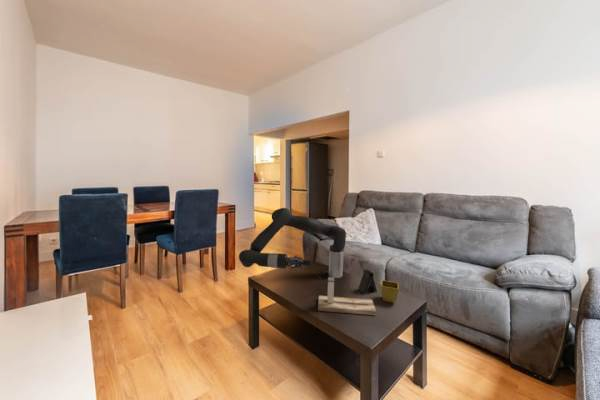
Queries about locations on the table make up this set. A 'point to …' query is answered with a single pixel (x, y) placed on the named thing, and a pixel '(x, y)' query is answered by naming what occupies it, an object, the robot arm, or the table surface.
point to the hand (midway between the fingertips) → (310, 263)
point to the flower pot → (389, 291)
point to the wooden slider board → (347, 305)
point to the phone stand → (367, 283)
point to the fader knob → (330, 290)
